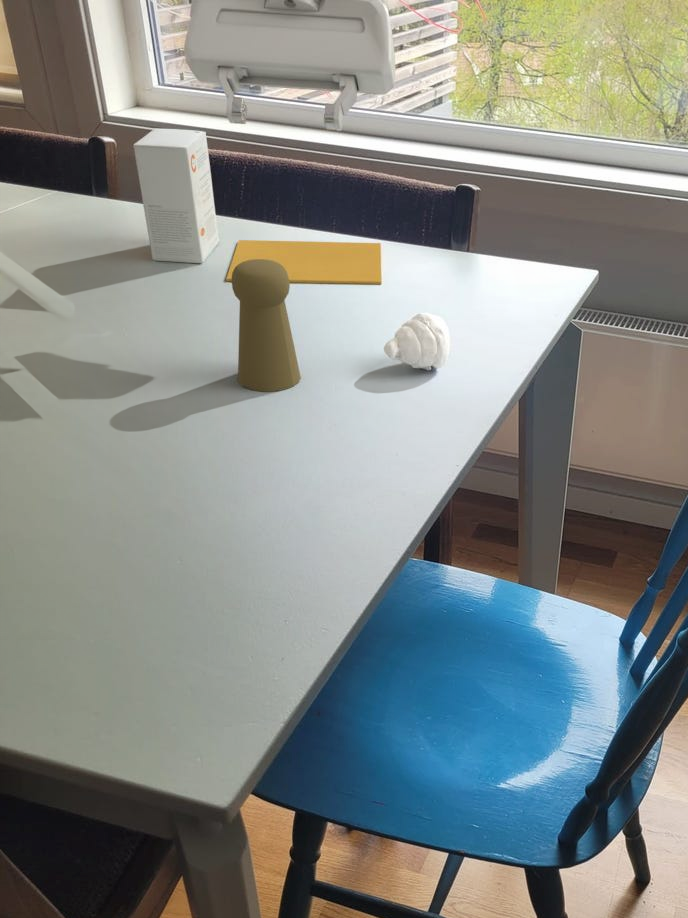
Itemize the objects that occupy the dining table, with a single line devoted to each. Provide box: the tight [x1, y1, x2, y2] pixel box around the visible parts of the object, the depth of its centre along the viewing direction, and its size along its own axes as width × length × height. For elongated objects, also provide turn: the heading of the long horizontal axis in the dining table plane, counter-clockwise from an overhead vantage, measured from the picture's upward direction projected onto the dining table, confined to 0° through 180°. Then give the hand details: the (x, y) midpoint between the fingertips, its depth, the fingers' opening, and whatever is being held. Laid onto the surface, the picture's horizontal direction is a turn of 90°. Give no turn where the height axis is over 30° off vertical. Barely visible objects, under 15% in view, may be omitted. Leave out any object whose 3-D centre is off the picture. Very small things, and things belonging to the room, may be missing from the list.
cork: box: [231, 259, 302, 393], centre depth 93 cm, size 6×6×11 cm
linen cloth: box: [225, 239, 382, 285], centre depth 122 cm, size 18×14×1 cm
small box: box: [132, 127, 220, 264], centre depth 119 cm, size 8×6×13 cm
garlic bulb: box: [383, 312, 451, 371], centre depth 98 cm, size 6×6×5 cm
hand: (284, 123), depth 96 cm, fingers open, 8 cm apart
